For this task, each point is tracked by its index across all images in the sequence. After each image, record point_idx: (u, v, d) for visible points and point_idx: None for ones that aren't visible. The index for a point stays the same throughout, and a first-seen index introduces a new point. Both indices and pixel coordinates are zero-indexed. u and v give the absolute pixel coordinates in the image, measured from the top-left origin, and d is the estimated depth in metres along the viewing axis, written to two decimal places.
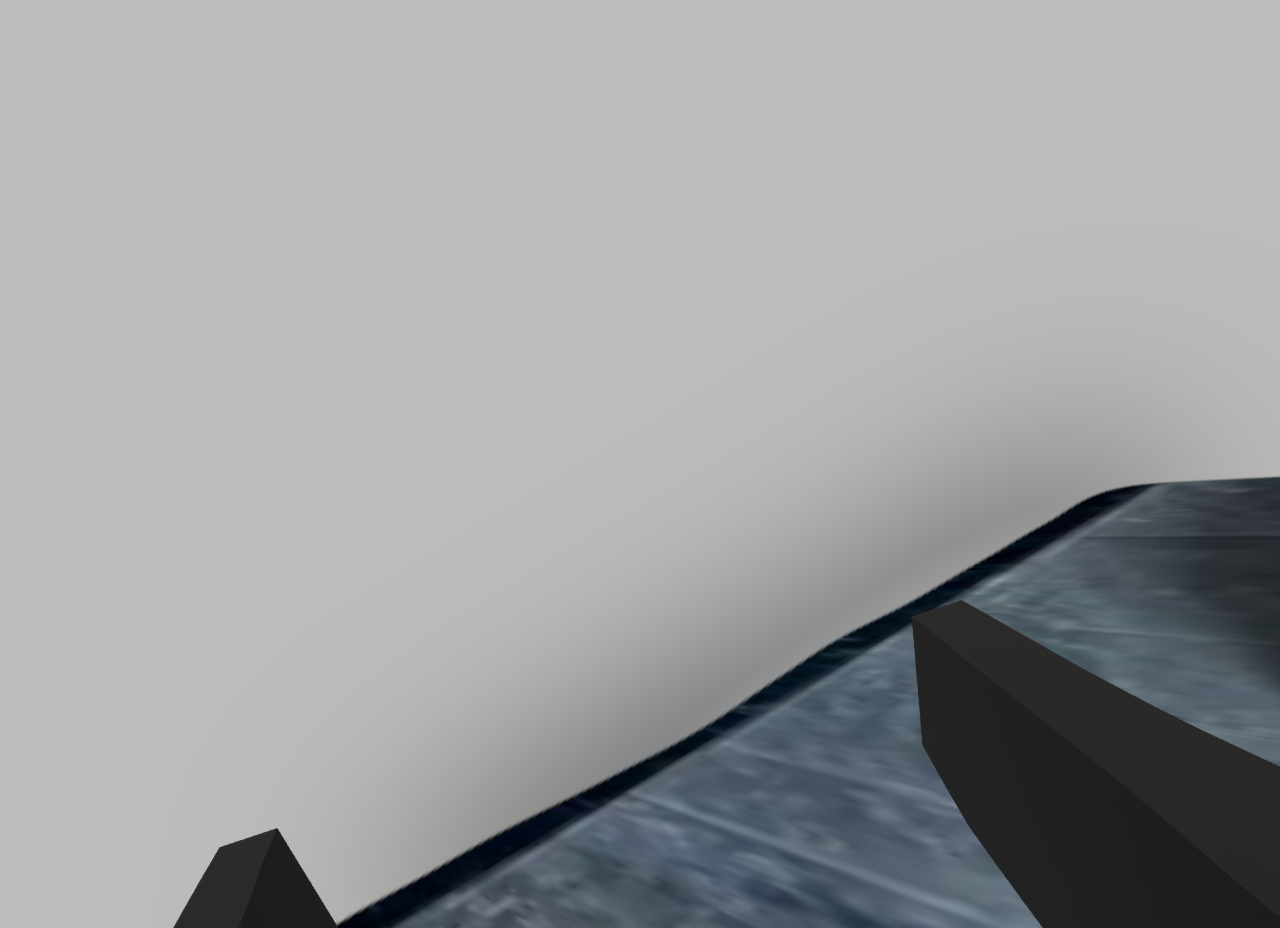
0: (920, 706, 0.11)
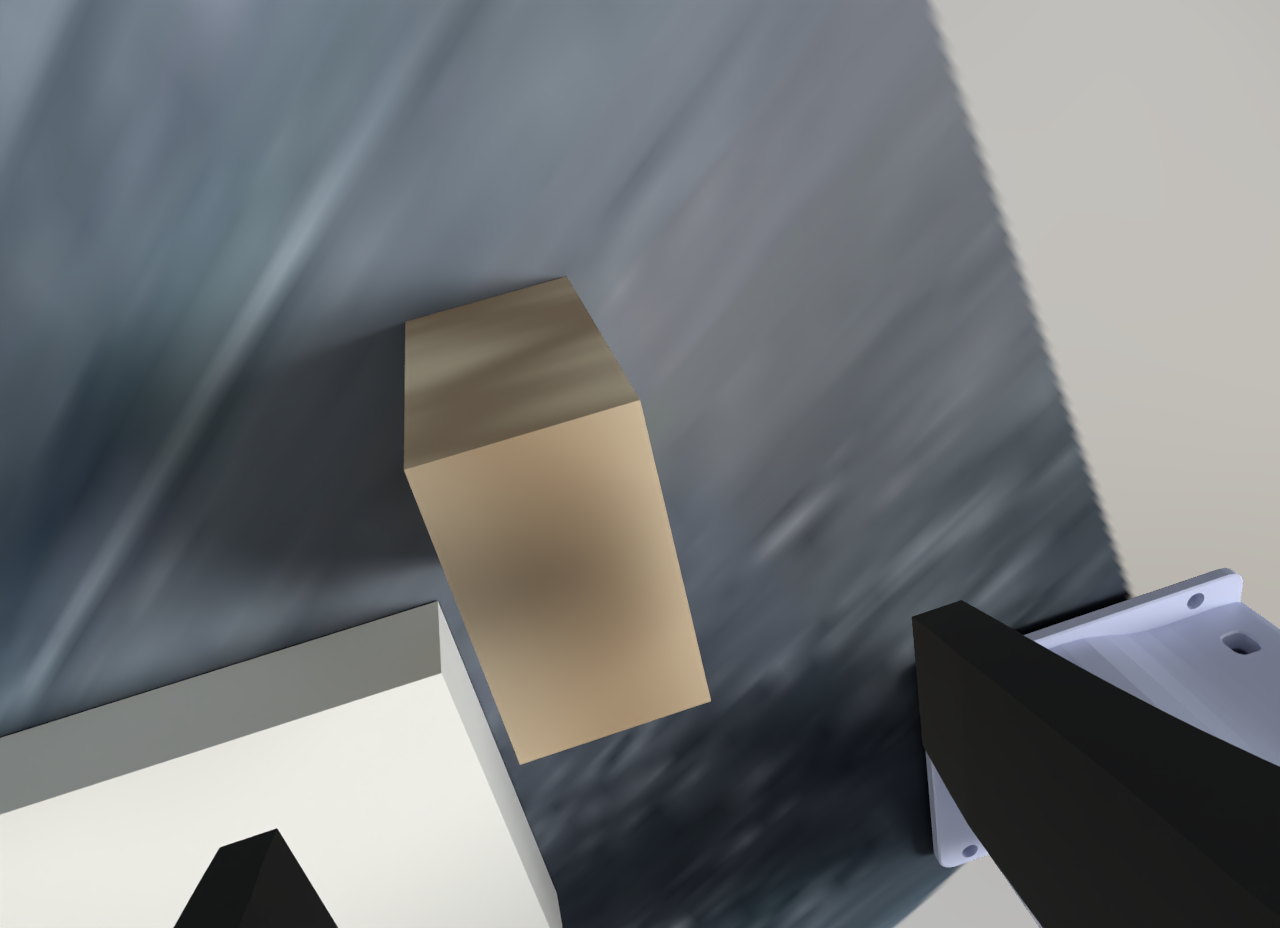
0: (920, 706, 0.11)
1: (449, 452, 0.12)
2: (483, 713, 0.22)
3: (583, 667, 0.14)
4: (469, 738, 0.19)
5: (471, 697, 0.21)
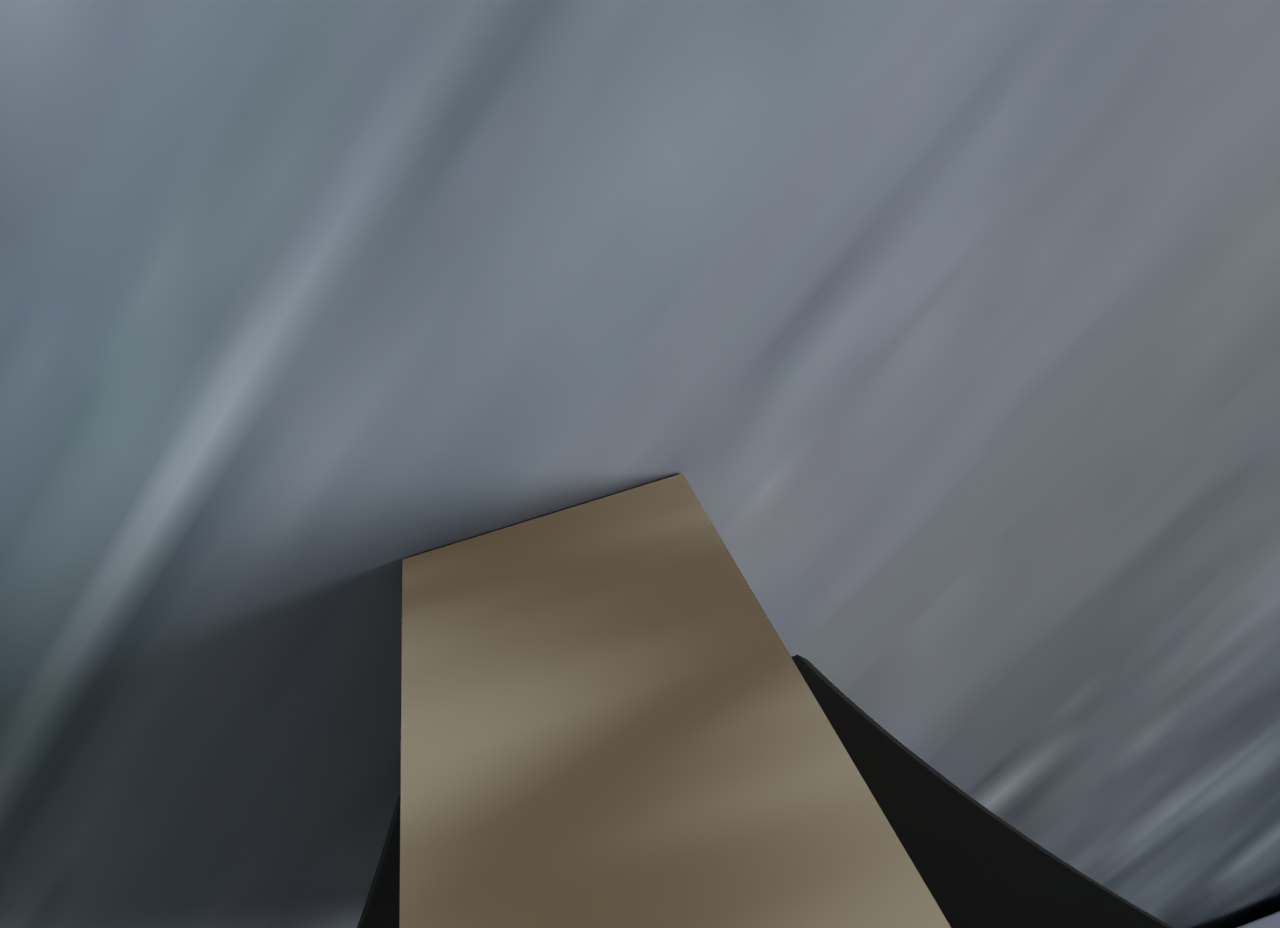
0: None
1: None
2: None
3: None
4: None
5: None
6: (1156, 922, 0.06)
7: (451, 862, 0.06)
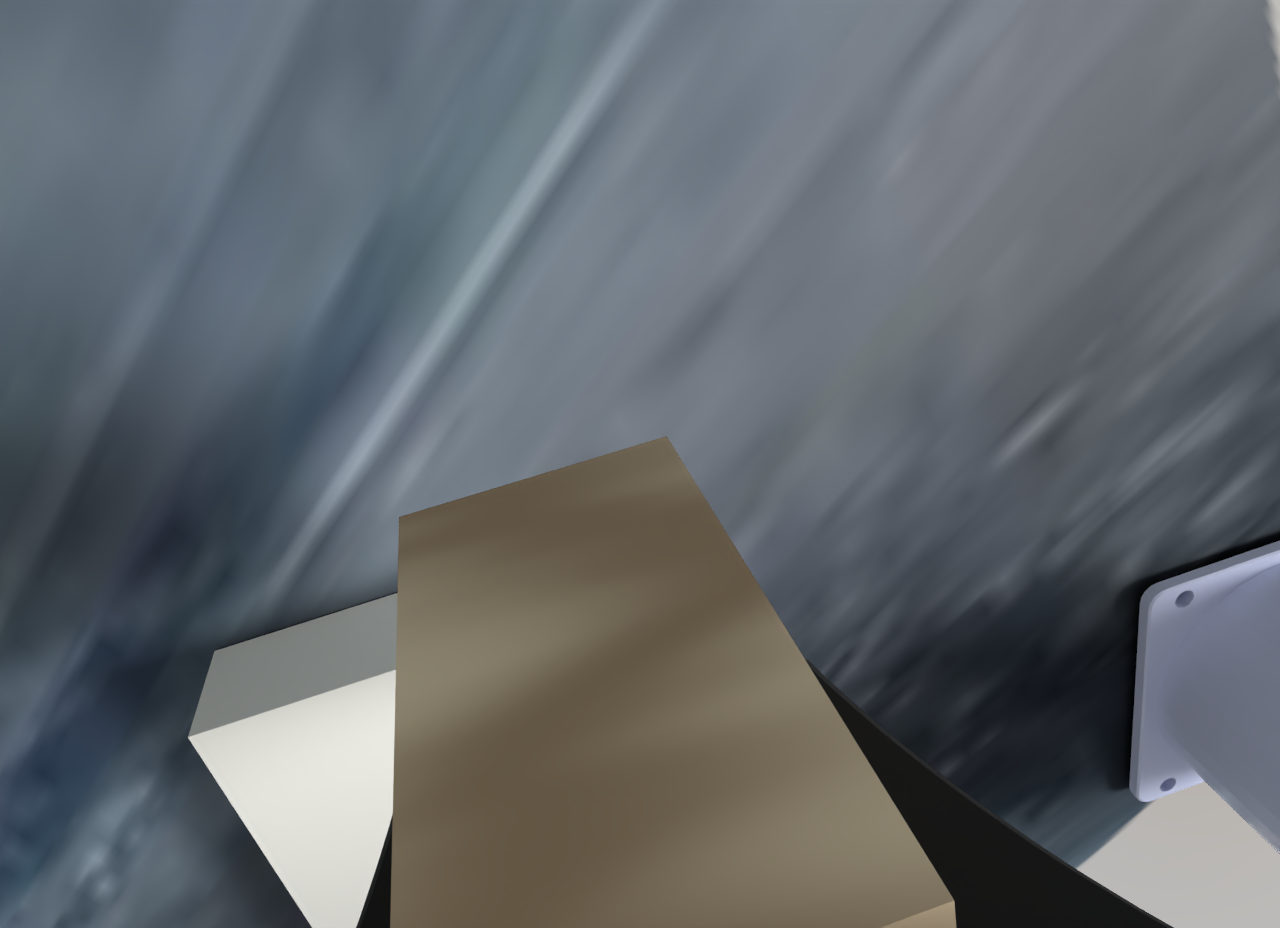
0: None
1: None
2: None
3: None
4: None
5: None
6: (1156, 922, 0.06)
7: (441, 771, 0.07)
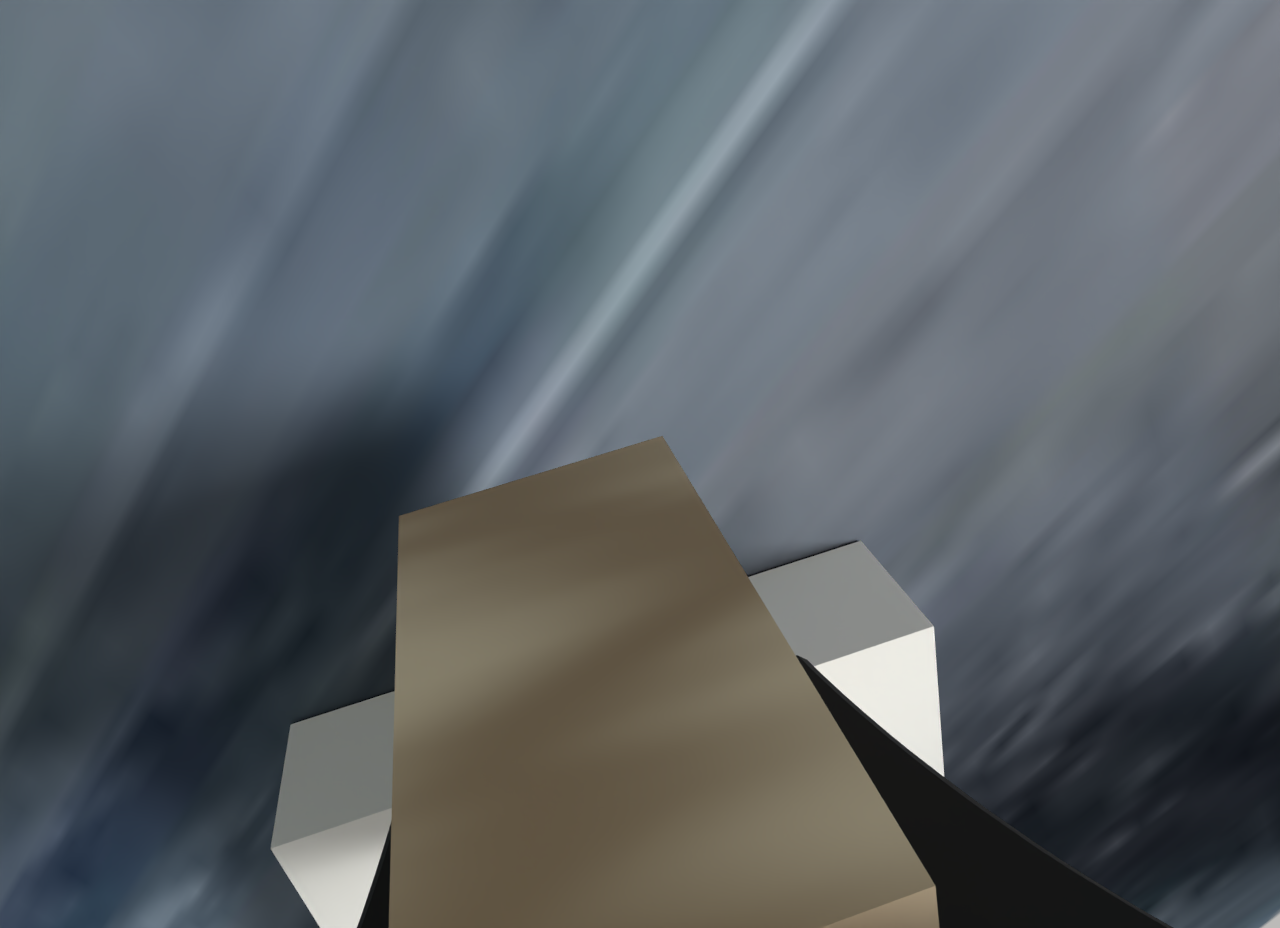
0: None
1: None
2: None
3: None
4: (938, 714, 0.14)
5: None
6: (1156, 922, 0.06)
7: (439, 763, 0.07)
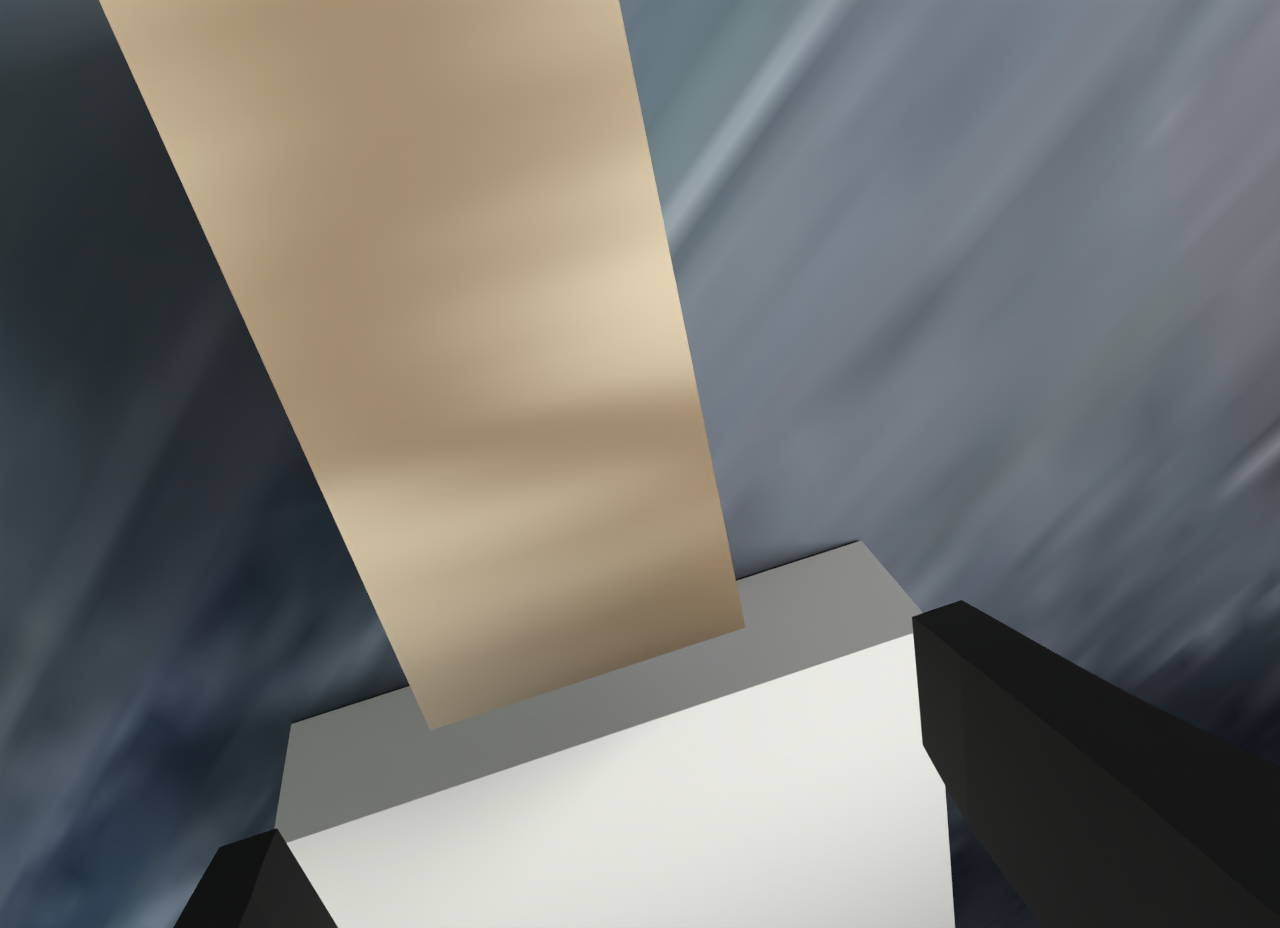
0: (920, 706, 0.11)
1: None
2: None
3: None
4: None
5: None
6: None
7: None
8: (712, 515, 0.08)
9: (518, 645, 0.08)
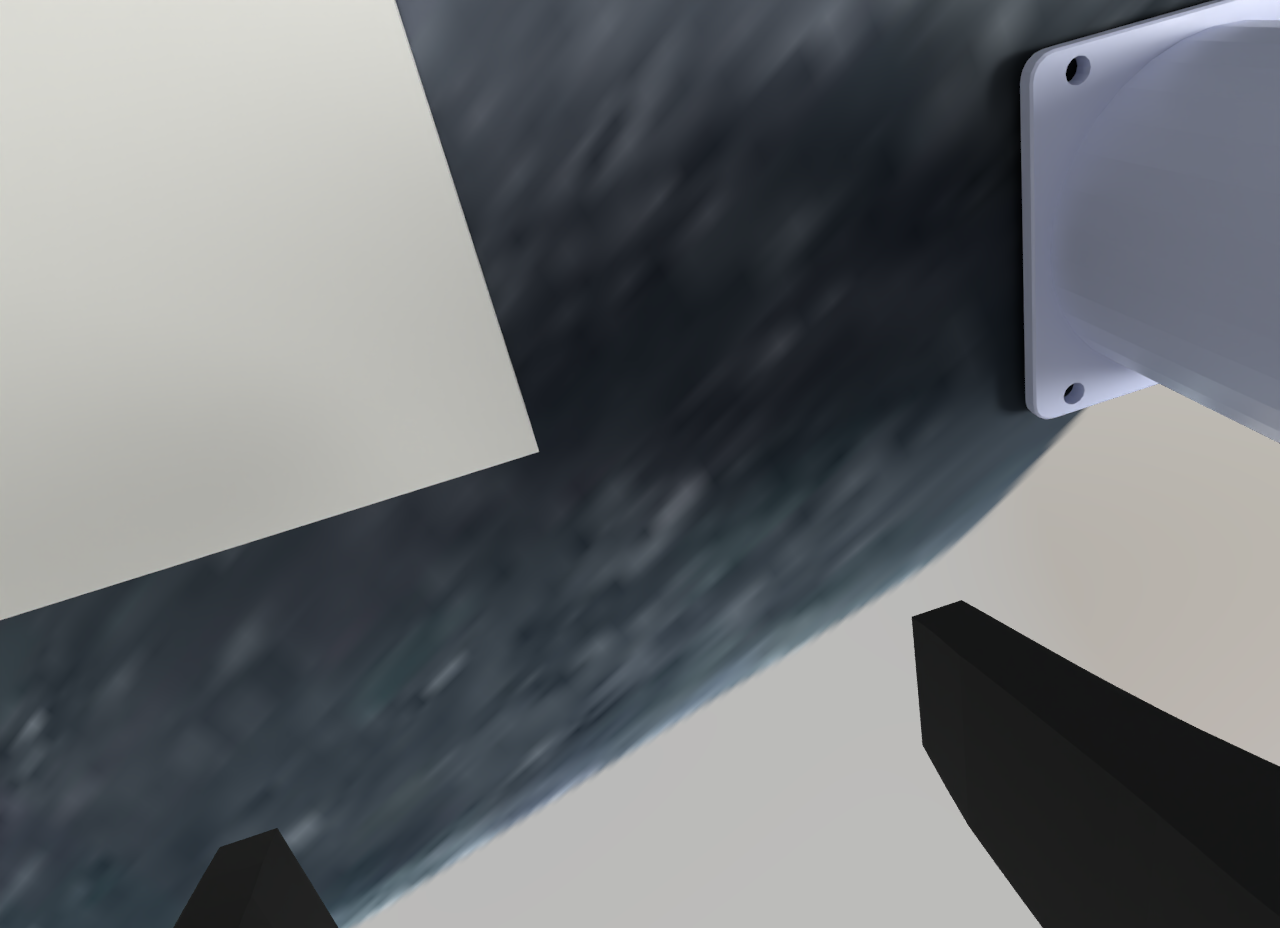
0: (920, 706, 0.11)
1: None
2: None
3: None
4: None
5: None
6: None
7: None
8: None
9: None
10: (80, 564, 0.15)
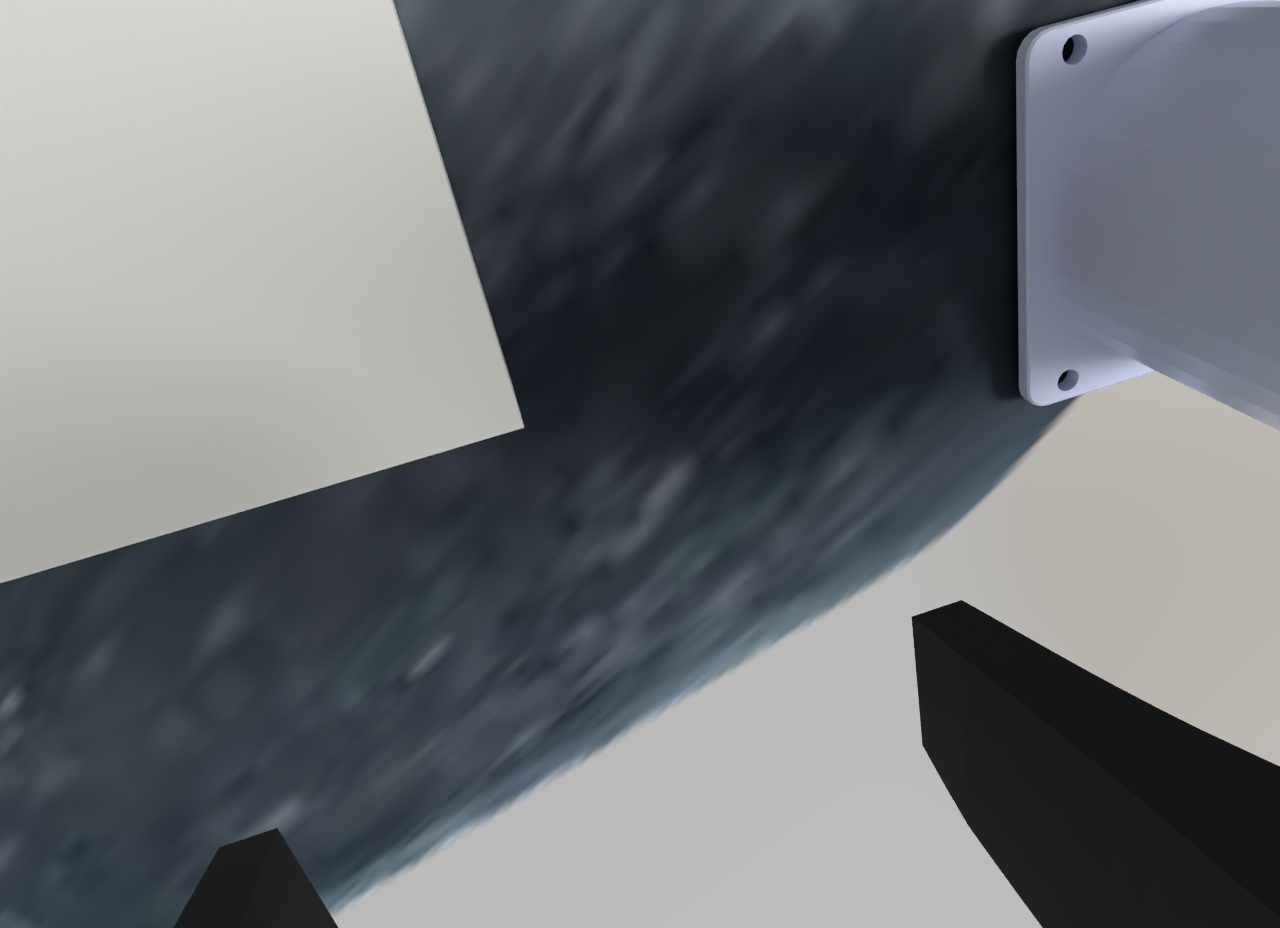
0: (920, 706, 0.11)
1: None
2: None
3: None
4: None
5: None
6: None
7: None
8: None
9: None
10: (55, 535, 0.15)
